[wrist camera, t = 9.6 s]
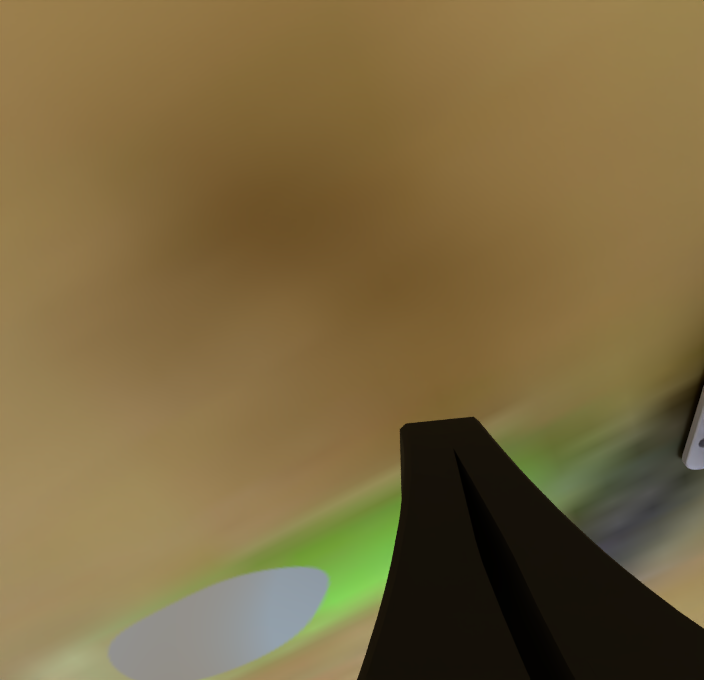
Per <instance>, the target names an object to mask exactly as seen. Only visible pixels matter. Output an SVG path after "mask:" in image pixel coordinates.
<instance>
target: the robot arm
mask: <svg viewBox="0 0 704 680" xmlns="http://www.w3.org/2000/svg"><path fill="white" fill-rule="evenodd" d="M400 454H401V491H402V502H401V511H400V518H399V524H398V530H397V535H396V540H395V546H394V551H393V556H392V561H391V566H390V570H389V574H388V579H387V583H386V587H385V591H384V594H383V598H382V602H381V606H380V609H379V613H378V616H377V620H376V623H375V626H374V629H373V633H372V636H371V639H370V642H369V645H368V649H367V652H366V655H365V658H364V661H363V664H362V667H361V670H360V673H359V676H358V678H357V680H704V628H702V627H701V626H699V625H698V624H696V623H695V622H693V621H692V620H691V619H689V618H688V617H686V616H685V615H683V614H682V613H680V612H679V611H678V610H676V609H675V608H674V607H673V606H671V605H670V604H669V603H667V602H666V601H665V600H663V599H662V598H661V597H659V596H658V595H657V594H655V593H654V592H653V591H651V590H650V589H649V588H648V587H646V586H645V585H644V584H643V583H641V582H640V581H639V580H638V579H636V578H635V577H634V576H633V575H632V574H630V573H629V572H628V571H627V570H625V569H624V568H623V567H622V566H620V565H619V564H618V563H617V562H616V561H615V560H613V559H612V558H611V557H610V556H609V555H608V554H606V553H605V552H604V551H603V550H602V549H601V548H600V547H598V546H597V545H596V544H595V543H594V542H593V541H592V540H591V539H590V538H589V537H587V536H586V535H585V534H584V533H583V532H582V531H581V530H580V529H579V528H578V527H577V526H576V525H574V524H573V523H572V522H571V521H570V520H569V519H568V518H567V517H566V516H565V515H564V514H563V513H562V512H561V511H560V510H559V509H558V508H557V507H556V506H555V505H554V504H553V503H552V502H551V501H550V500H549V499H548V498H547V497H546V496H545V495H544V494H543V493H542V492H541V491H540V490H539V489H538V488H537V487H536V486H535V485H534V484H533V483H532V481H531V480H530V479H529V478H528V477H527V476H526V475H525V474H524V473H523V472H522V471H521V470H520V469H519V467H518V466H517V465H516V464H515V463H514V462H513V461H512V460H511V458H510V457H509V456H508V455H507V454H506V453H505V452H504V451H503V449H502V448H501V447H500V446H499V445H498V444H497V442H496V441H495V440H494V439H493V438H492V436H491V435H490V434H489V433H488V432H487V430H486V429H485V428H484V427H483V426H482V424H481V423H480V422H479V421H478V420H477V419H476V418H474V417H466V418H456V419H447V420H437V421H427V422H417V423H407V424H405V425H404V426H403V427H402V428H401V429H400ZM682 461H683V463H684V464H685V465H686V466H687V468H689V469H693V470H697V469H704V387H703V390H702V393H701V397H700V400H699V403H698V406H697V410H696V413H695V416H694V419H693V423H692V426H691V429H690V432H689V436H688V439H687V442H686V446H685V449H684V452H683V455H682Z"/></svg>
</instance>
